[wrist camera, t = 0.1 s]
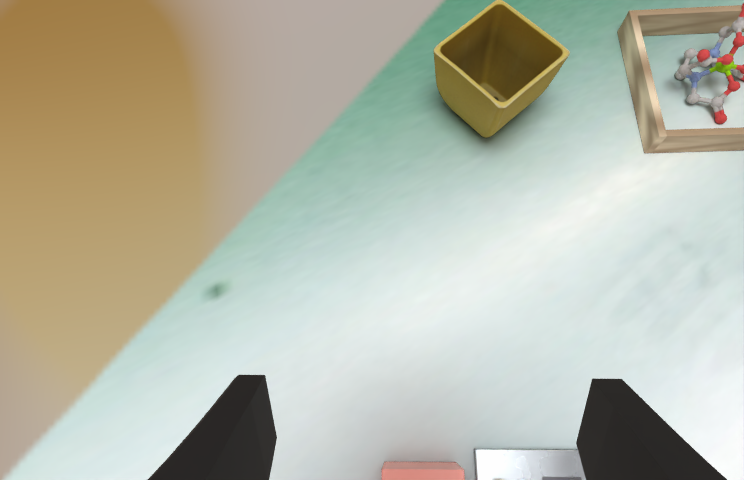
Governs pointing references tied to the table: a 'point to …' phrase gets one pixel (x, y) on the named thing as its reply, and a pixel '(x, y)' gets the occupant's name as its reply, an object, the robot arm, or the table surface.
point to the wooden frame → (643, 84)
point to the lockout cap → (422, 471)
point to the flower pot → (495, 67)
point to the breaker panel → (528, 464)
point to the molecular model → (715, 67)
